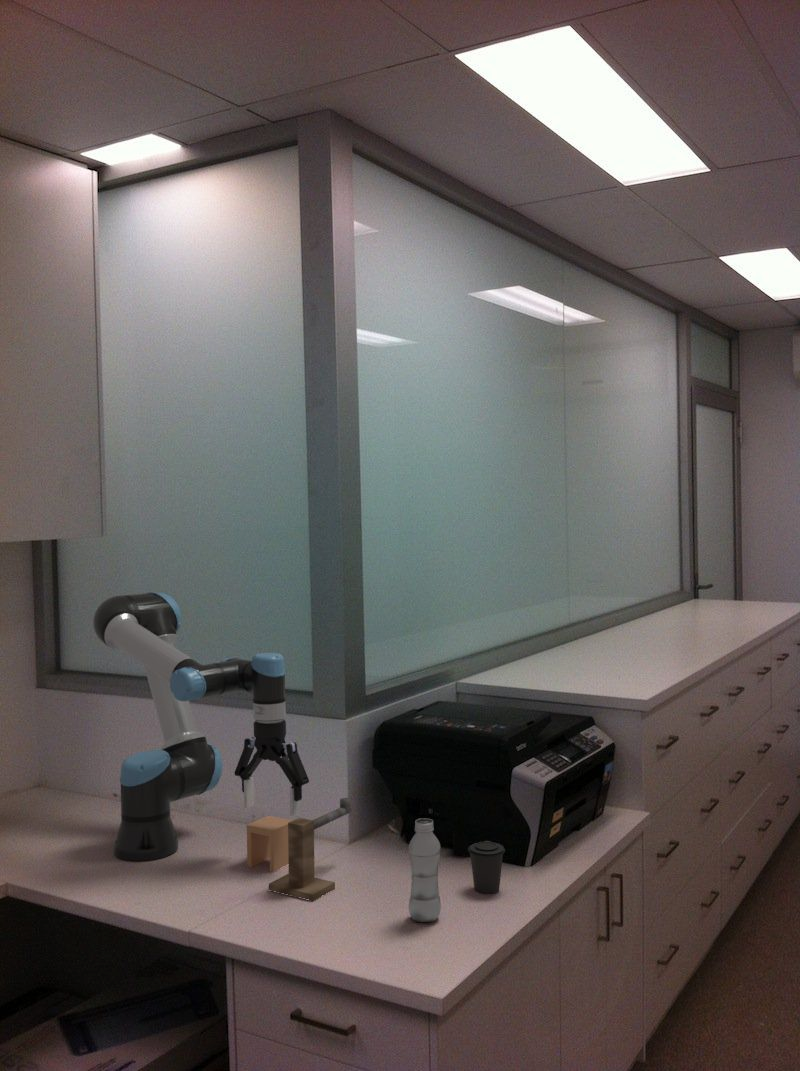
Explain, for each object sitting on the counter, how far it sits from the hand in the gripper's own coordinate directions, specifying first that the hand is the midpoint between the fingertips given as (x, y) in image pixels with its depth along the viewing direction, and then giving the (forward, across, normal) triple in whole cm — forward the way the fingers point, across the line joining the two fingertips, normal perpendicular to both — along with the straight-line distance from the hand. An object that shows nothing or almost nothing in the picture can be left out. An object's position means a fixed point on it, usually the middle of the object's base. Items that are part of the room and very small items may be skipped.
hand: (271, 810), depth 233 cm
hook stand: (+13, +15, -1) cm, 20 cm away
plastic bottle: (+14, +46, -9) cm, 49 cm away
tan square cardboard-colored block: (+13, -1, 0) cm, 13 cm away
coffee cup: (+14, +50, +11) cm, 53 cm away
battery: (+13, +35, +30) cm, 48 cm away
